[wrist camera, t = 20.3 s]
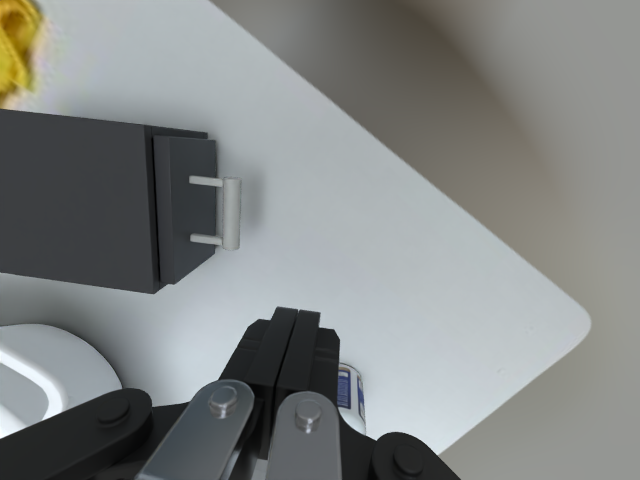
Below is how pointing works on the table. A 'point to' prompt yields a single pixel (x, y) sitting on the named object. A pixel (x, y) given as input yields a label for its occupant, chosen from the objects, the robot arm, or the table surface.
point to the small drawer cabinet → (79, 200)
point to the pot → (47, 374)
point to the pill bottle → (351, 398)
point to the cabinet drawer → (190, 205)
